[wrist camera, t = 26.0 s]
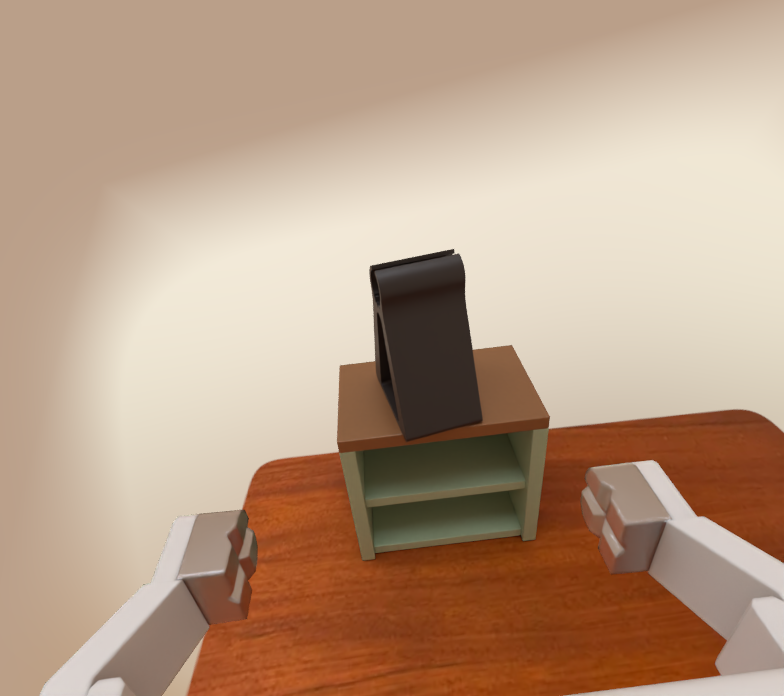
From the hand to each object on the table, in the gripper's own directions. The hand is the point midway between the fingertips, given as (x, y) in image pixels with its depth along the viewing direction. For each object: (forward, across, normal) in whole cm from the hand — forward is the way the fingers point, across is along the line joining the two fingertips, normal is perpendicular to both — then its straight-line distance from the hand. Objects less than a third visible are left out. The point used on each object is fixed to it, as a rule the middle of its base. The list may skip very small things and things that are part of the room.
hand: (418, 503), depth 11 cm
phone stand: (+22, -2, +16) cm, 27 cm away
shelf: (+23, -4, +30) cm, 39 cm away
